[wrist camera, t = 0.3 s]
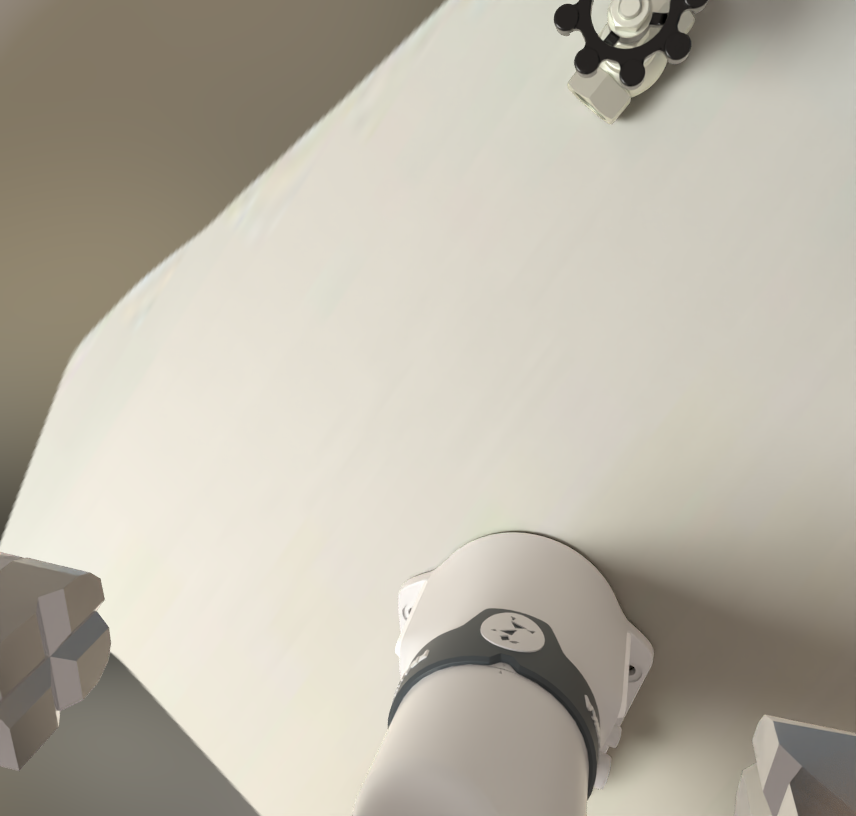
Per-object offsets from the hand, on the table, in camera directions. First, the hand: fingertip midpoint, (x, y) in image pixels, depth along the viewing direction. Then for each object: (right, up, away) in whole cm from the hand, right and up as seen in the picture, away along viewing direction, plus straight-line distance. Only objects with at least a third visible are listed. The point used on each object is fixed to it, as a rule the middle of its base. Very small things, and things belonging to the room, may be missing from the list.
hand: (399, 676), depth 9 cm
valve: (+12, +24, +34) cm, 43 cm away
